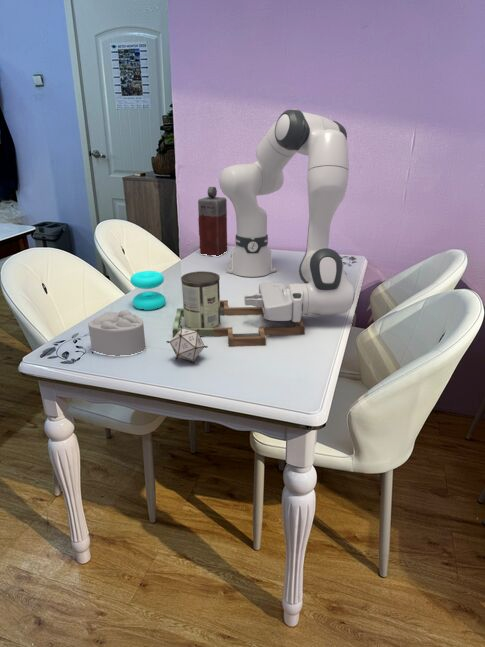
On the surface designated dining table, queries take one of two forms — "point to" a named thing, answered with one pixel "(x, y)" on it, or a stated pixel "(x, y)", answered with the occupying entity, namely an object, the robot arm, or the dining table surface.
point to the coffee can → (201, 300)
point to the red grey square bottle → (212, 223)
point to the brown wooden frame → (246, 338)
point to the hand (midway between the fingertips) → (244, 300)
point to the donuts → (147, 282)
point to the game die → (187, 344)
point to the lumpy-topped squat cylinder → (117, 333)
